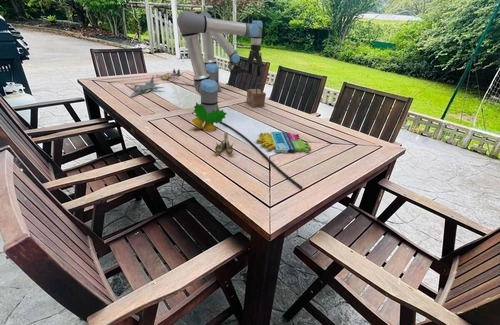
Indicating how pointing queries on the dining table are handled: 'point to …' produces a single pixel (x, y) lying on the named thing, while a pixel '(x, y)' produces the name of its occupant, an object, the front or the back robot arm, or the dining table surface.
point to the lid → (257, 90)
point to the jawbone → (224, 145)
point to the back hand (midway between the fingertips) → (244, 73)
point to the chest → (255, 100)
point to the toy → (170, 75)
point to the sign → (283, 142)
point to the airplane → (145, 87)
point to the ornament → (207, 117)
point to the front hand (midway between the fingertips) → (254, 74)
